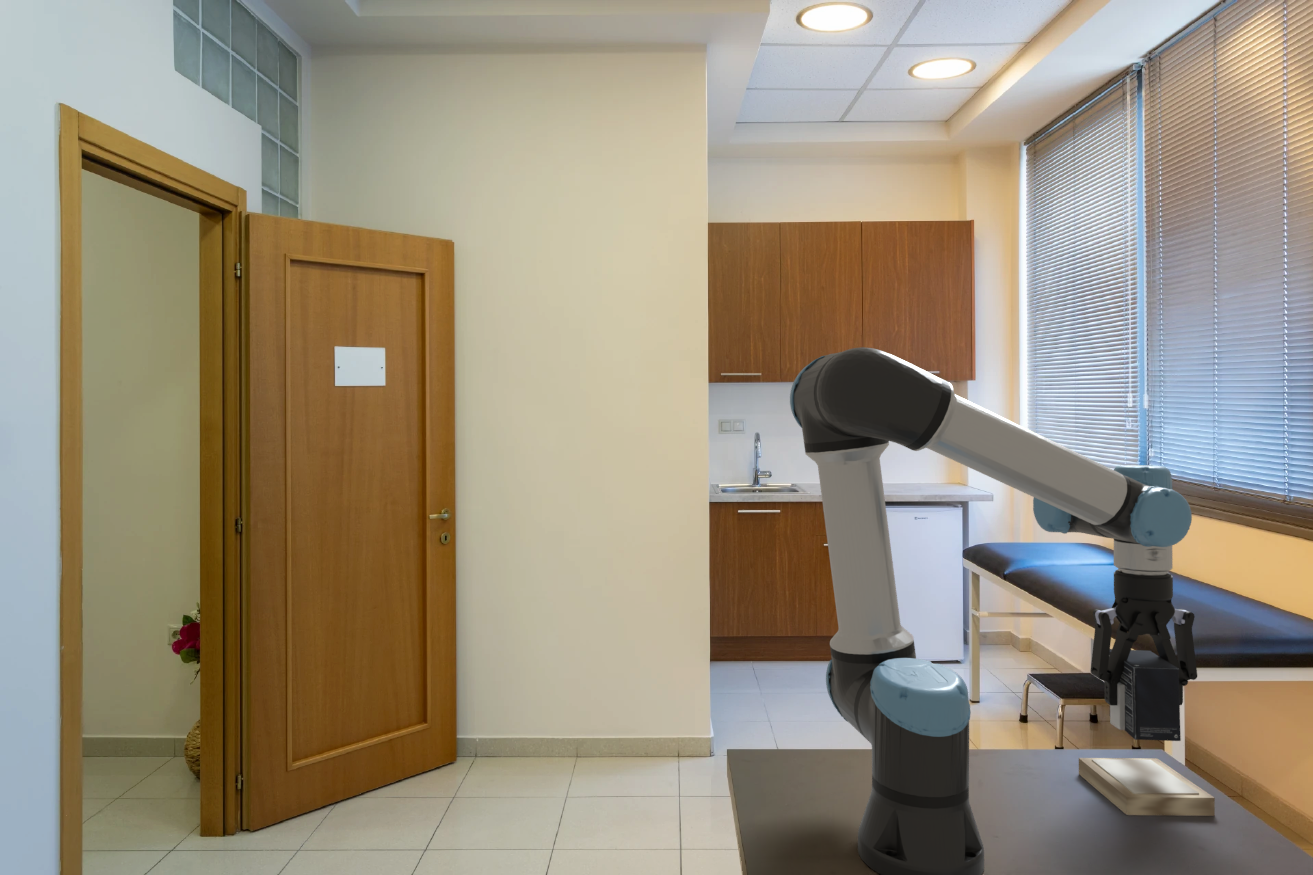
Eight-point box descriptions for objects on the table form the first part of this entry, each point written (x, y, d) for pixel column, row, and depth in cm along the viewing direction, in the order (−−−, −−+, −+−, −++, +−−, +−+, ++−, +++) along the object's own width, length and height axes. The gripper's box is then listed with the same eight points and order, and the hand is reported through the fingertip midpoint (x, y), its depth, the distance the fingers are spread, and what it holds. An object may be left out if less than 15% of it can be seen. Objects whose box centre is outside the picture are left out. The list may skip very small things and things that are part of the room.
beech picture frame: (1126, 814, 117) (1126, 795, 117) (1078, 773, 131) (1078, 756, 131) (1214, 815, 116) (1214, 796, 116) (1156, 774, 130) (1156, 756, 130)
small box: (1185, 742, 117) (1182, 667, 117) (1134, 741, 119) (1131, 667, 119) (1154, 717, 128) (1151, 648, 128) (1108, 716, 129) (1105, 648, 129)
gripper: (1087, 575, 120) (1087, 735, 120) (1228, 574, 119) (1228, 735, 119) (1062, 566, 127) (1063, 717, 127) (1195, 565, 127) (1196, 717, 127)
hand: (1143, 726), depth 123 cm, fingers closed on small box, 7 cm apart
